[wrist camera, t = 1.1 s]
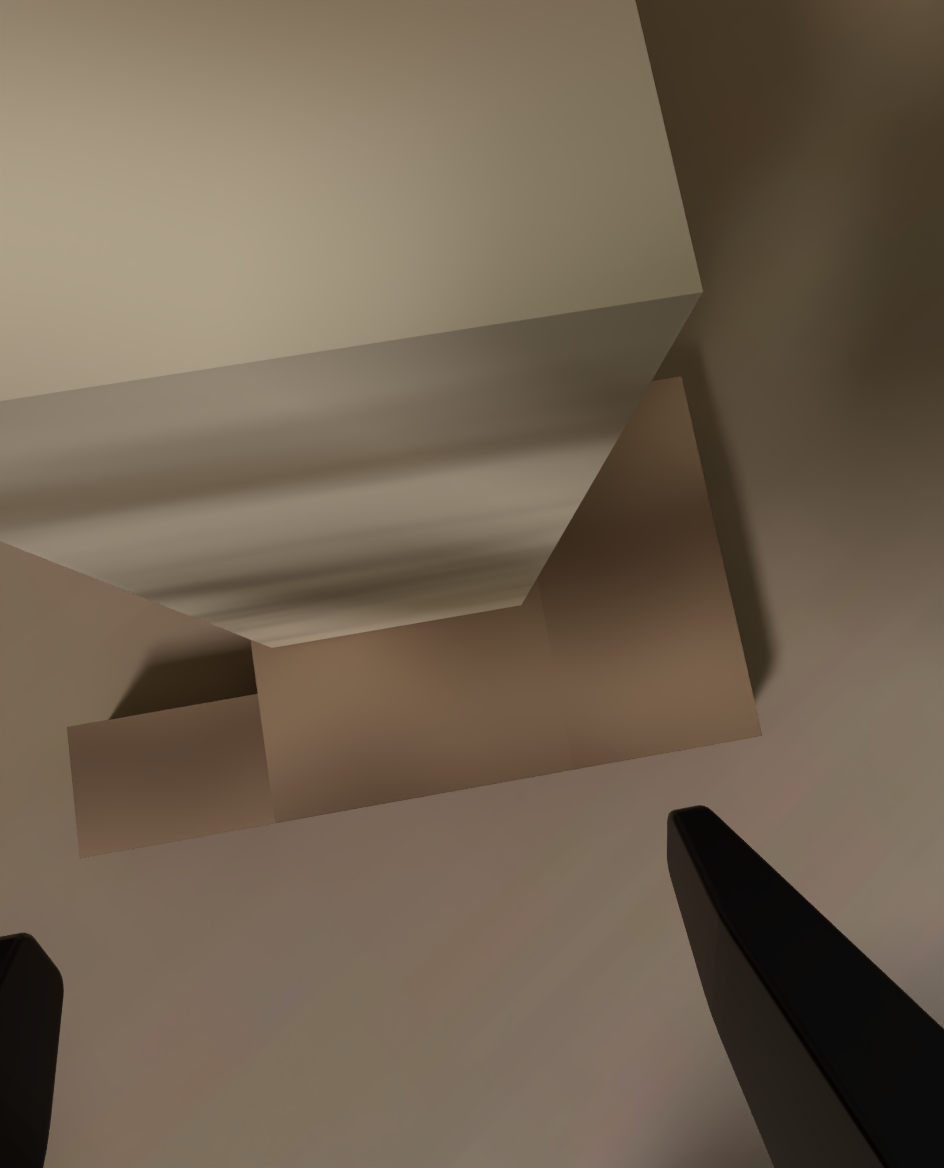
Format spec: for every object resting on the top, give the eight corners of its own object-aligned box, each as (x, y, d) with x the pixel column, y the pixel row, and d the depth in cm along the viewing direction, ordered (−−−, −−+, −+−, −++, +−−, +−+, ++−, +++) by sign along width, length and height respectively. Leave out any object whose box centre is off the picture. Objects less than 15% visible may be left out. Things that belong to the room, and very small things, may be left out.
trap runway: (735, 733, 22) (814, 738, 17) (116, 845, 21) (9, 883, 16) (557, -78, 25) (577, -269, 21) (27, 2, 25) (-83, -174, 20)
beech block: (521, 605, 20) (704, 291, 5) (271, 647, 20) (-257, 439, 5) (464, 297, 21) (484, -643, 7) (228, 334, 21) (-298, -566, 6)
